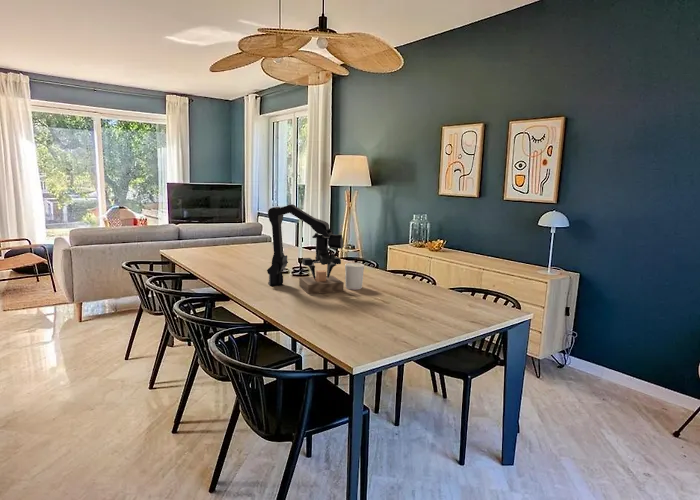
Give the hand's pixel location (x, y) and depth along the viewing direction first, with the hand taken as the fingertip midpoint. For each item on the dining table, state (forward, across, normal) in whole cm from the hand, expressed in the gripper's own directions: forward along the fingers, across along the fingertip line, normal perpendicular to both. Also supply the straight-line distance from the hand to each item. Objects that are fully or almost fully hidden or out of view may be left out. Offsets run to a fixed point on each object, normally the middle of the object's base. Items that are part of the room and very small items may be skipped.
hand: (321, 278), depth 218 cm
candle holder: (+6, +17, -2) cm, 18 cm away
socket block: (+6, 0, 0) cm, 6 cm away
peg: (+6, 0, 0) cm, 6 cm away
